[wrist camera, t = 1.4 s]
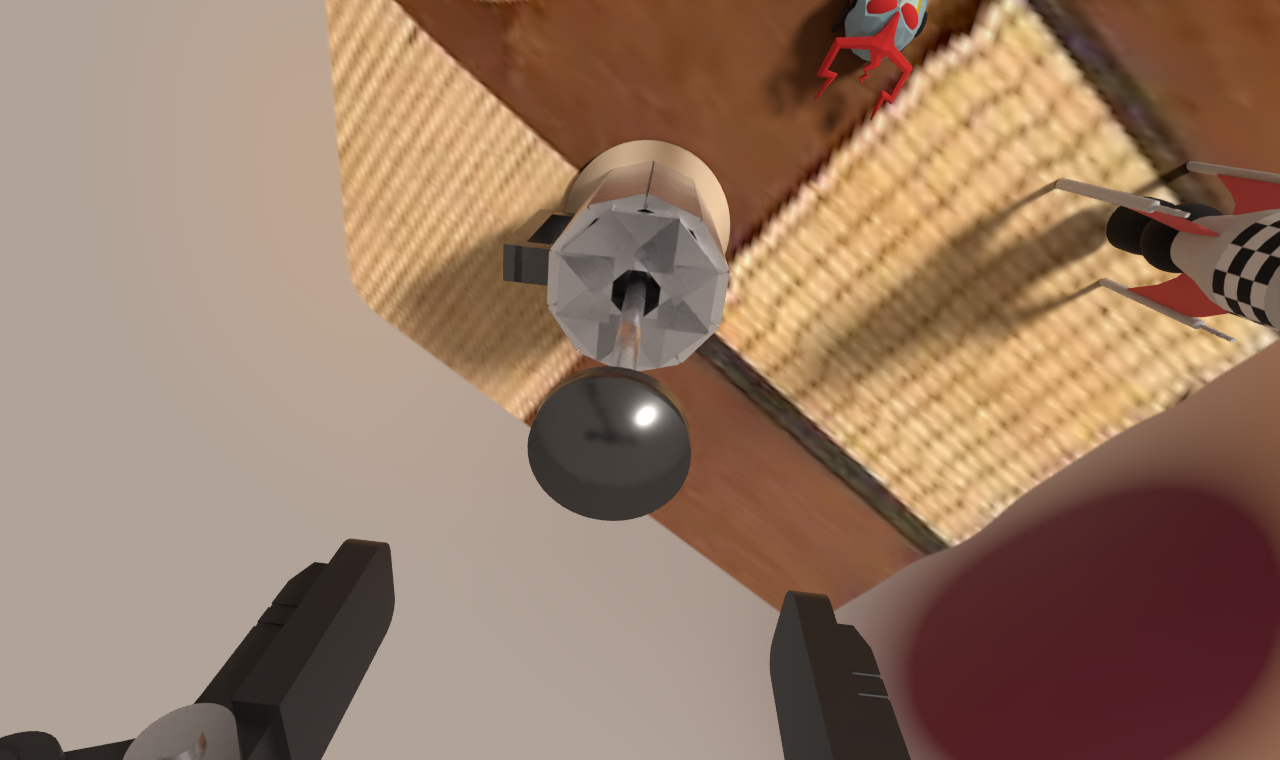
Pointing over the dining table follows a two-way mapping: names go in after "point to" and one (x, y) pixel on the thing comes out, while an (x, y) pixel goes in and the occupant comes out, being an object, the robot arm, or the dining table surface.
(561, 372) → the dining table surface
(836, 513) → the dining table surface
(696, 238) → the french press
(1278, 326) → the toy
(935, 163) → the dining table surface
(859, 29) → the toy
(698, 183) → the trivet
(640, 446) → the plunger
